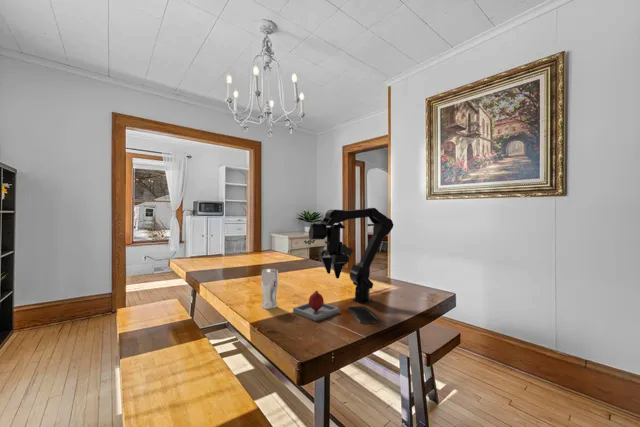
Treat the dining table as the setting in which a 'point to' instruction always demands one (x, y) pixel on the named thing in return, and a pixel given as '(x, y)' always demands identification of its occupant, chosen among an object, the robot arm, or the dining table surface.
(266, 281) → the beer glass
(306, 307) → the tray
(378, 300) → the dining table surface
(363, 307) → the phone
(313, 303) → the onion
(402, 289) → the dining table surface
